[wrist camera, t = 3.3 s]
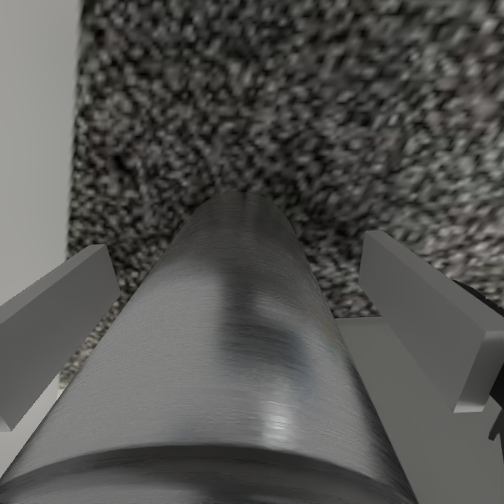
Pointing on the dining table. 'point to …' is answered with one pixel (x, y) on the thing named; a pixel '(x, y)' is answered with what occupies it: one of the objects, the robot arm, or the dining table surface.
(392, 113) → the dining table surface
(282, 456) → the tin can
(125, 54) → the dining table surface
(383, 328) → the caddy
